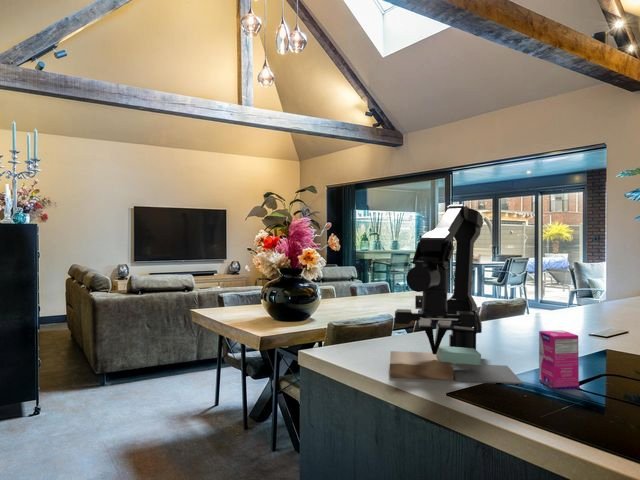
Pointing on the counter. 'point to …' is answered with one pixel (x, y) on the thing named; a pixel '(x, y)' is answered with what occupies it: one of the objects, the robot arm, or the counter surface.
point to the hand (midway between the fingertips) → (434, 353)
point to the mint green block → (458, 355)
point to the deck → (419, 366)
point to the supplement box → (559, 359)
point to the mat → (484, 374)
